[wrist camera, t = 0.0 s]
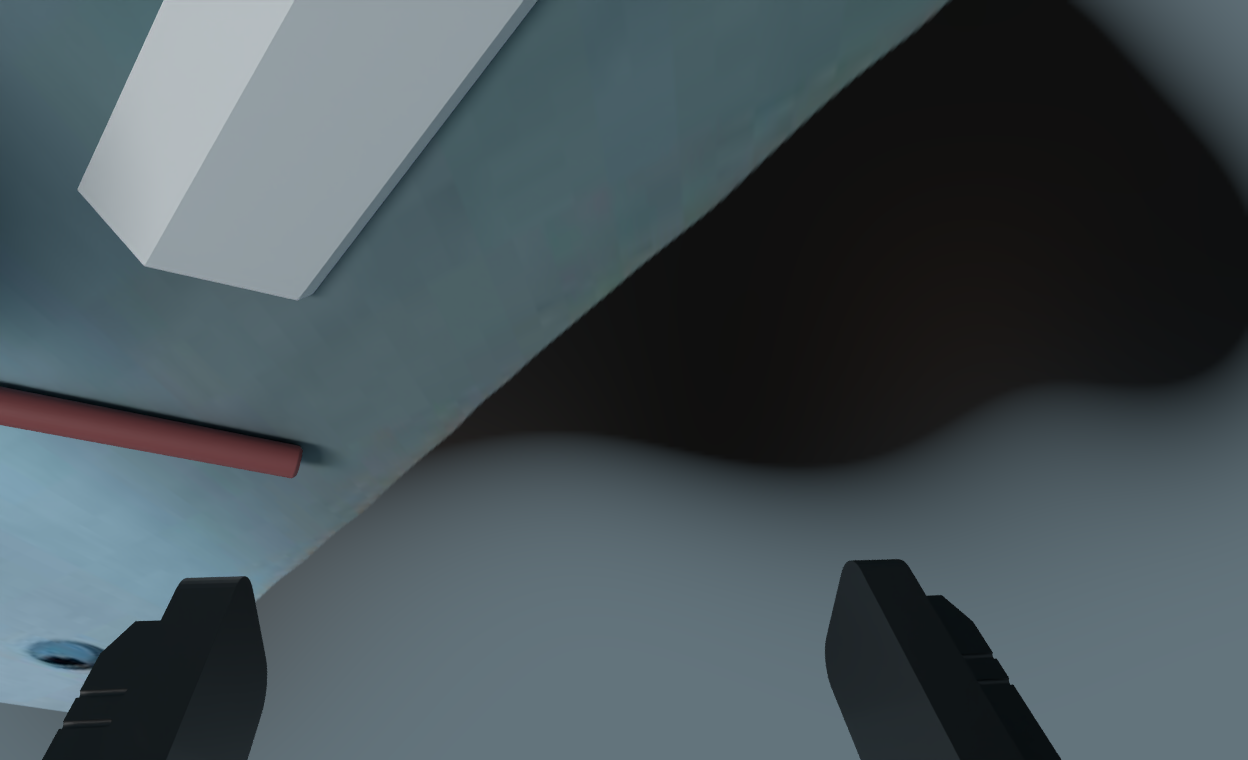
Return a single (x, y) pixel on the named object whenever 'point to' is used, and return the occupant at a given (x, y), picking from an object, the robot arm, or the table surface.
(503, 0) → the crown molding
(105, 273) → the table surface
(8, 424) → the red collared rod
